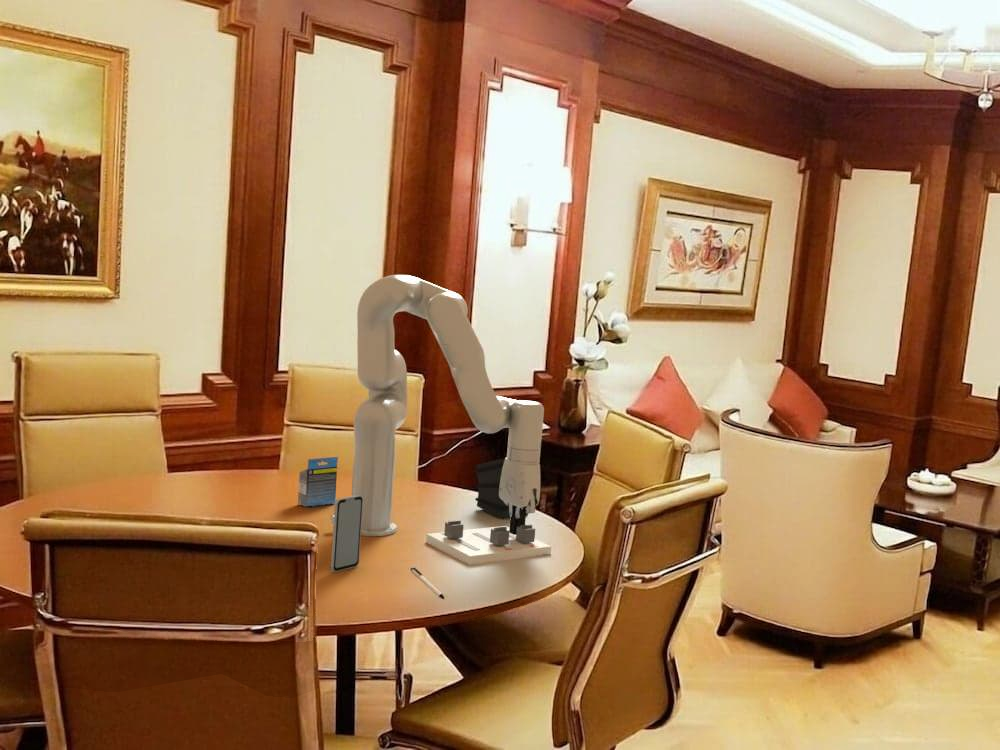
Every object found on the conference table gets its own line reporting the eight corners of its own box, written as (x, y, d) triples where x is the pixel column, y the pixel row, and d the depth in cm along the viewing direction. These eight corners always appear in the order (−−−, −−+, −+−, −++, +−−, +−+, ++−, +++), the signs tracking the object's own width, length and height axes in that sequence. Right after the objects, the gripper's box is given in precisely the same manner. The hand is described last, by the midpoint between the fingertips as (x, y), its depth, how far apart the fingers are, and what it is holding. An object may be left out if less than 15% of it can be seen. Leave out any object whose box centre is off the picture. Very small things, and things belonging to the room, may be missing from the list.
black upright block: (508, 518, 254) (500, 458, 257) (477, 523, 264) (470, 466, 267) (520, 517, 257) (512, 458, 259) (489, 522, 267) (481, 465, 269)
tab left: (451, 538, 228) (452, 523, 227) (444, 535, 230) (445, 519, 230) (462, 537, 230) (463, 522, 229) (455, 534, 232) (456, 518, 232)
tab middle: (497, 545, 225) (498, 529, 225) (489, 542, 228) (491, 526, 227) (508, 544, 227) (509, 528, 227) (500, 540, 229) (502, 525, 229)
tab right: (523, 543, 229) (524, 527, 229) (515, 539, 232) (517, 524, 231) (534, 541, 231) (535, 526, 230) (526, 538, 233) (527, 522, 233)
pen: (413, 570, 212) (413, 565, 212) (446, 601, 194) (446, 595, 194) (409, 570, 211) (409, 565, 211) (441, 601, 194) (442, 595, 194)
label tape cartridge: (327, 500, 263) (330, 453, 261) (335, 504, 260) (338, 456, 258) (297, 504, 257) (300, 456, 255) (305, 507, 254) (308, 459, 253)
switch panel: (469, 565, 217) (470, 555, 217) (426, 542, 232) (426, 533, 232) (550, 554, 230) (551, 545, 230) (504, 533, 245) (505, 525, 244)
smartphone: (332, 572, 205) (337, 499, 203) (329, 571, 205) (333, 498, 204) (358, 566, 211) (363, 495, 209) (355, 564, 211) (360, 494, 210)
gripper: (491, 449, 236) (484, 526, 238) (530, 462, 224) (523, 543, 226) (517, 448, 240) (510, 523, 242) (556, 461, 228) (549, 540, 230)
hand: (516, 533), depth 234 cm, fingers closed
